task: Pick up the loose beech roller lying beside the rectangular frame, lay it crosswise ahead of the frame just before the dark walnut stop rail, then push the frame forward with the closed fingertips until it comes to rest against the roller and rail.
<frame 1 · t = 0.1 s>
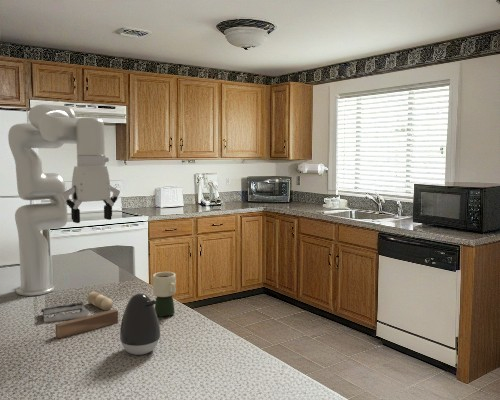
hand: (92, 220, 138), 31 cm above the countertop, tool pointing down, fingers open, 9 cm apart
roller: (99, 306, 157), on the countertop
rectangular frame: (64, 316, 149), on the countertop
character mug: (164, 315, 150), on the countertop
stop rail: (88, 329, 138), on the countertop
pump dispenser: (140, 351, 124), on the countertop
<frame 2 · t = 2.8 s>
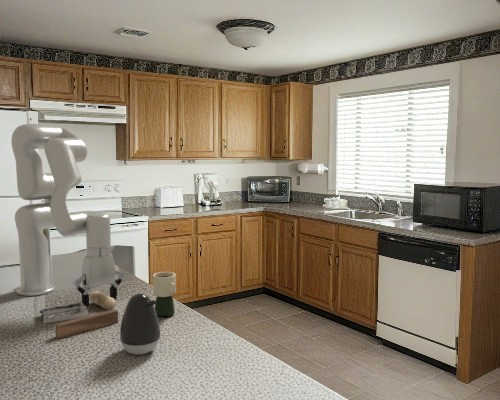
hand: (99, 302, 157), 1 cm above the countertop, tool pointing down, fingers open, 9 cm apart
roller: (99, 306, 157), on the countertop, tilted 30°
everything else where it was.
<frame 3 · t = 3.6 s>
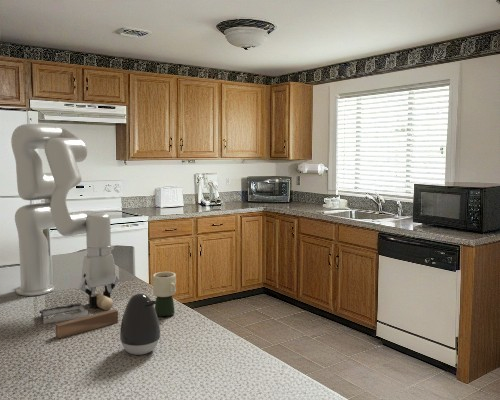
hand: (100, 305, 157), 0 cm above the countertop, tool pointing down, fingers closed on roller, 4 cm apart
roller: (100, 306, 157), on the countertop, touching gripper
everything else where it was.
when the fingers open (2 cm above the countertop, at t = 8.8 s): roller drops 2 cm, on the countertop.
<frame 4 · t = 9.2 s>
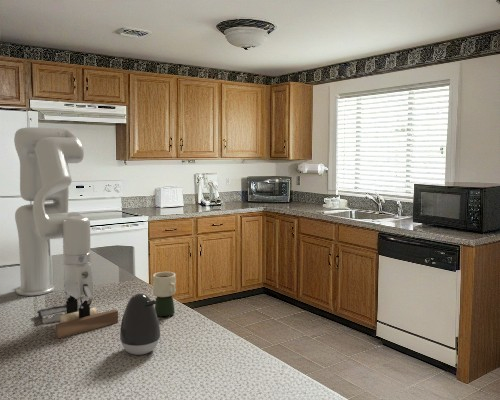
hand: (78, 316, 142), 2 cm above the countertop, tool pointing down, fingers open, 7 cm apart
roller: (79, 324, 142), on the countertop
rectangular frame: (61, 317, 148), on the countertop, touching gripper
everything else where it was.
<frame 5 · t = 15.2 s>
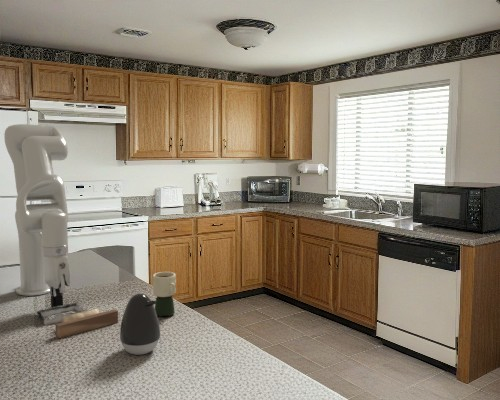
hand: (57, 307, 152), 1 cm above the countertop, tool pointing down, fingers closed
roller: (79, 322, 142), on the countertop, tilted 47°
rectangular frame: (61, 318, 148), on the countertop
everything else where it was.
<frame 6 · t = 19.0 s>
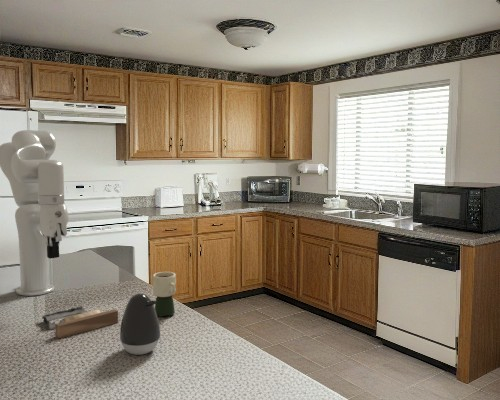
hand: (53, 257, 152), 17 cm above the countertop, tool pointing down, fingers closed
roller: (80, 320, 141), point 1 cm above the countertop, tilted 75°
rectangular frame: (66, 322, 144), on the countertop
everything else where it was.
at the end: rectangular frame inside the target area (1.5 cm from its centre), on the countertop; roller inside the target area (1.1 cm from its centre), point 1.3 cm above the countertop; the gripper is holding nothing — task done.
